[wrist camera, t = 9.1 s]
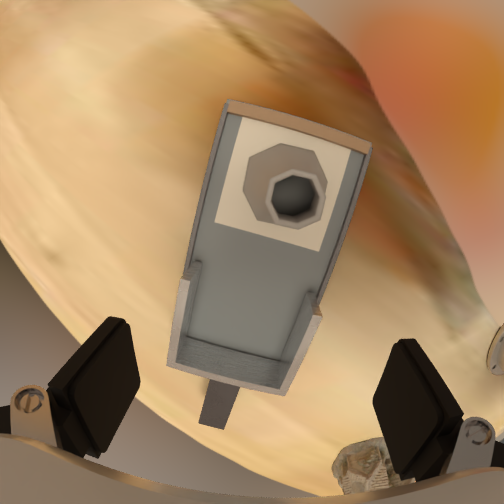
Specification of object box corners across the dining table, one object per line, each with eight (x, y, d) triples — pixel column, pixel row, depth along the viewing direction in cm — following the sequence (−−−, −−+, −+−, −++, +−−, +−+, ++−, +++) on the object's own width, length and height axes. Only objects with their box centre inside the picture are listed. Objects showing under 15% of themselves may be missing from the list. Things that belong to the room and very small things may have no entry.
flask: (237, 148, 23) (216, 138, 14) (322, 139, 23) (356, 125, 13) (248, 231, 25) (234, 272, 16) (330, 222, 25) (365, 259, 15)
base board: (368, 143, 23) (377, 142, 21) (283, 374, 31) (284, 387, 29) (229, 101, 23) (225, 95, 21) (173, 345, 31) (167, 356, 29)
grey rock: (406, 468, 38) (422, 523, 24) (327, 482, 41) (331, 544, 26) (428, 420, 35) (457, 484, 20) (335, 437, 37) (344, 515, 23)
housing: (315, 293, 27) (322, 316, 22) (261, 415, 32) (259, 442, 28) (194, 260, 26) (180, 278, 22) (170, 392, 32) (160, 416, 28)
